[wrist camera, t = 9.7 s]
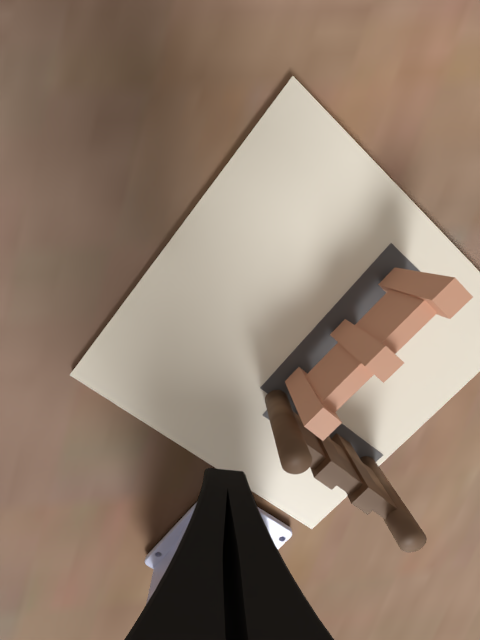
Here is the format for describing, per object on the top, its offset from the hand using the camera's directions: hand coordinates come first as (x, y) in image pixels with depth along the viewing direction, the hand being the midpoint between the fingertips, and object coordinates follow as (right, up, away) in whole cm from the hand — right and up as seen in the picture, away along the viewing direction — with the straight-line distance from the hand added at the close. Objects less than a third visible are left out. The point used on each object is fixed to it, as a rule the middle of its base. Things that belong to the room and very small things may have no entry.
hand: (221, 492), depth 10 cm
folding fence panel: (+7, +5, +9) cm, 13 cm away
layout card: (+5, +4, +10) cm, 12 cm away
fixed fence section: (+7, -2, +11) cm, 13 cm away
